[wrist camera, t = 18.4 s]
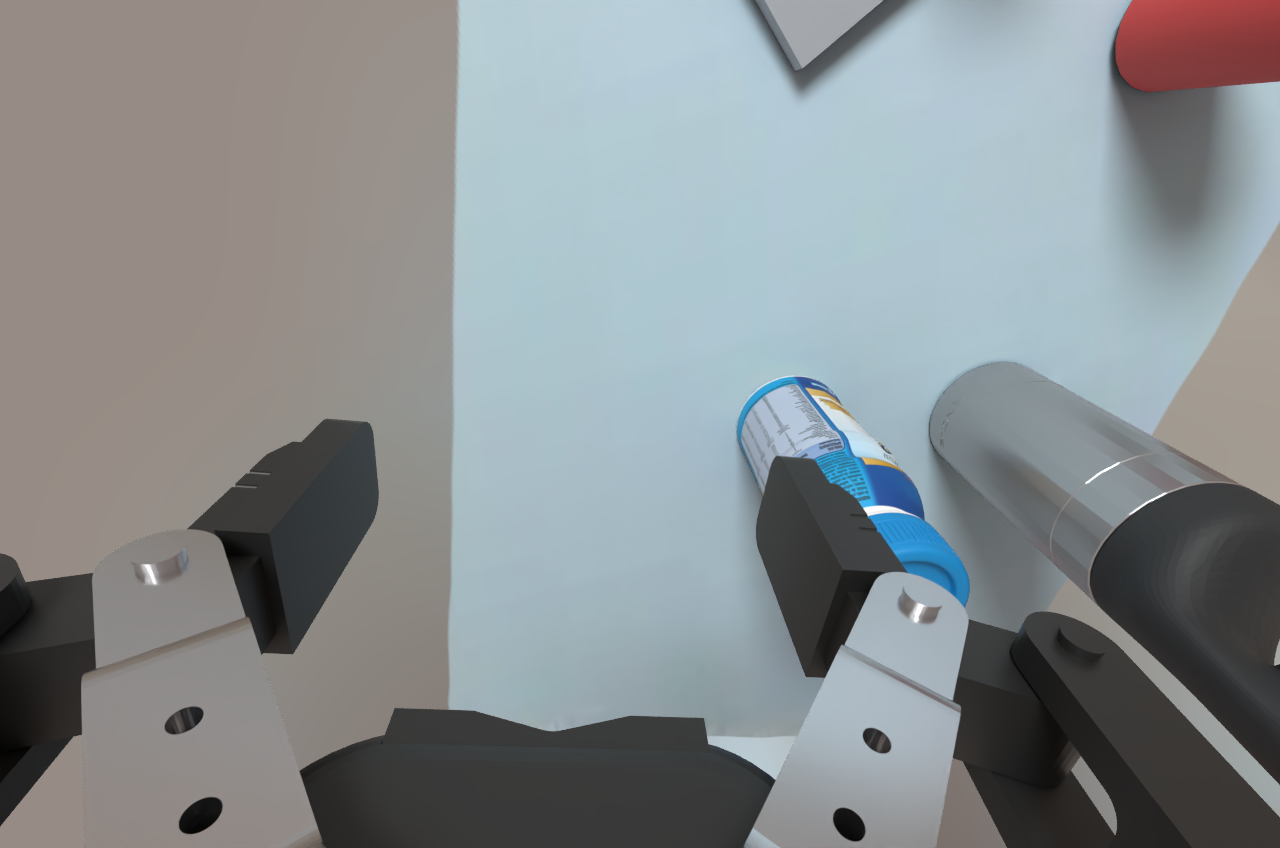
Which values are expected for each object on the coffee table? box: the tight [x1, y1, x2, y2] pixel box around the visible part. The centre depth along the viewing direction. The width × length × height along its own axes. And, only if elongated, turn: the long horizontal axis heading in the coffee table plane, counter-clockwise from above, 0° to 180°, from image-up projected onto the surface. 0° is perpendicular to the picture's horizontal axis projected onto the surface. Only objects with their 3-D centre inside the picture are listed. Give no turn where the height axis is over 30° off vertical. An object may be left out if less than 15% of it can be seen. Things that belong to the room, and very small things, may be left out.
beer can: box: [1116, 0, 1280, 92], centre depth 30 cm, size 7×7×12 cm
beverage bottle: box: [737, 375, 970, 607], centre depth 37 cm, size 8×8×20 cm
